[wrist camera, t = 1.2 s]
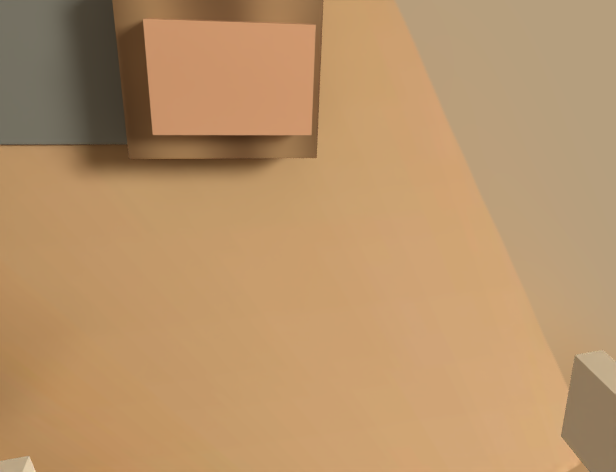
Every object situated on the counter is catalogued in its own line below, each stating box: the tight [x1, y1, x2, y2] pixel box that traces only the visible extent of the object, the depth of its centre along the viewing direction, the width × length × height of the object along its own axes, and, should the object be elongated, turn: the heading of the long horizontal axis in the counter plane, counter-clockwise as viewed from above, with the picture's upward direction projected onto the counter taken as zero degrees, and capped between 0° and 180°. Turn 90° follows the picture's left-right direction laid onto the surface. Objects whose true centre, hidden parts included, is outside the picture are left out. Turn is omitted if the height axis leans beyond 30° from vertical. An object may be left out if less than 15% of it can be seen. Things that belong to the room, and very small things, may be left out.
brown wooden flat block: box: [112, 0, 323, 159], centre depth 32 cm, size 12×10×4 cm
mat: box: [0, 0, 127, 144], centre depth 32 cm, size 13×10×1 cm
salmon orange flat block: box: [143, 18, 316, 135], centre depth 29 cm, size 9×6×2 cm, turn 89°
